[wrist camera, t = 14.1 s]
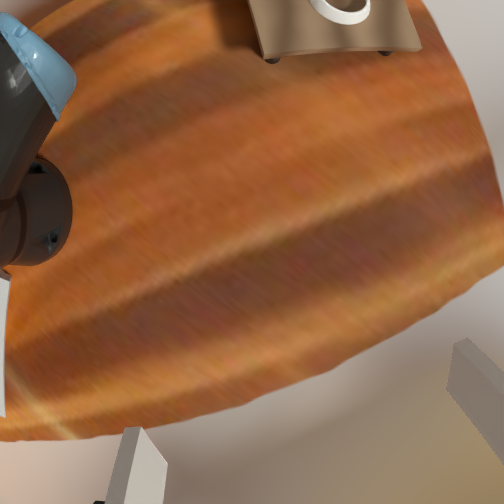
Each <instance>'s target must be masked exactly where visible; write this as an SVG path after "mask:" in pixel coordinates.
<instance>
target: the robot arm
mask: <svg viewBox="0 0 504 504" xmlns="http://www.w3.org/2000/svg"><path fill="white" fill-rule="evenodd" d="M76 83H77V79H76V74H75V72H74V70H73V68H72V67H71V66H70V65H69V64H68V63H67V62H66V61H65V60H64V59H63V58H62V57H61V56H60V55H59V54H58V53H57V52H56V51H55V50H54V49H53V48H52V47H50V46H49V45H48V44H47V43H46V42H45V41H43V40H42V39H41V38H40V37H39V36H37V35H36V34H35V33H34V32H32V31H31V30H28V29H27V27H26V26H24V25H23V24H21V23H20V22H19V21H18V20H17V19H16V18H14V17H13V16H11V15H10V14H8V13H5V12H1V13H0V268H2V267H4V266H6V265H21V266H34V265H38V264H41V263H43V262H45V261H47V260H49V259H50V258H52V257H53V256H55V255H56V254H57V253H58V252H59V251H60V250H61V248H62V247H63V245H64V244H65V242H66V240H67V238H68V235H69V232H70V228H71V223H72V200H71V195H70V191H69V188H68V185H67V183H66V181H65V179H64V177H63V175H62V174H61V173H60V171H59V170H58V169H57V168H56V167H55V166H54V165H53V164H52V163H50V162H48V161H47V160H44V159H41V158H35V157H36V155H37V153H38V151H39V149H40V148H41V146H42V144H43V142H44V140H45V139H46V137H47V135H48V133H49V132H50V130H51V128H52V126H53V125H54V123H55V121H56V122H58V121H59V119H60V113H61V112H62V110H63V108H64V107H65V105H66V103H67V102H68V100H69V98H70V97H71V95H72V93H73V92H74V90H75V87H76ZM446 390H447V391H448V392H449V393H450V395H451V396H452V397H453V398H454V400H455V401H456V402H457V404H459V406H460V407H461V408H462V410H463V411H464V412H465V414H466V415H467V416H468V418H469V419H470V420H471V422H472V423H473V424H474V425H475V427H476V428H477V429H478V430H479V432H480V433H481V435H482V436H483V437H484V438H485V440H486V441H487V443H488V444H489V445H490V447H491V448H492V450H493V451H494V452H495V453H496V455H497V456H498V458H499V459H500V461H501V462H502V463H503V465H504V372H503V371H502V370H501V369H500V368H499V367H498V366H497V365H496V364H495V363H494V362H493V361H492V360H491V359H490V358H489V357H488V356H486V354H484V353H483V352H482V351H481V350H480V349H479V348H478V347H477V346H476V345H475V344H474V343H472V341H470V340H469V339H468V338H465V339H463V340H461V341H459V342H457V343H455V344H454V347H453V353H452V360H451V366H450V372H449V377H448V383H447V388H446ZM167 465H168V463H167V462H166V461H165V460H164V458H163V457H162V455H161V454H160V453H159V451H158V450H157V449H156V447H155V446H154V444H153V443H152V442H151V440H150V439H149V437H148V436H147V435H146V433H145V432H144V430H143V429H142V427H128V428H125V430H124V433H123V436H122V440H121V444H120V447H119V451H118V454H117V458H116V461H115V465H114V469H113V473H112V476H111V481H110V484H109V488H108V492H107V496H106V500H105V501H95V502H94V503H93V504H163V497H164V488H165V481H166V472H167Z"/></svg>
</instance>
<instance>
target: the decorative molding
mask: <svg viewBox="0 0 504 504" xmlns="http://www.w3.org/2000/svg"><path fill="white" fill-rule="evenodd" d="M11 278H12V276H11V275H9V274H7V273H5V271H3V270H2V269H1V268H0V416H2V417H5V415H6V408H5V384H4V359H5V334H6V321H7V310H8V300H9V292H10V285H11Z"/></svg>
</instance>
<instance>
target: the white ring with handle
mask: <svg viewBox="0 0 504 504" xmlns="http://www.w3.org/2000/svg"><path fill="white" fill-rule="evenodd" d="M309 1H310V3H311V5H312V6H313V8H314V9H315V10H316V11H317V12H318V13H319V14H321V15H322V16H323V17H325V18H327V19H329V20H331V21H333V22H336V23H340V24H346V25H351V24H357V23H360V22H362V21H364V20H365V19H366V18H367V16H368V15H369V12H370V0H365V1H366V5H365V7H364V8H363V9H362V10H360V11H357V12H344V11H341V10H338V9H336V8H334V7H332V6H331V5H329V4H328V3H327V2H326V1H325V0H309Z"/></svg>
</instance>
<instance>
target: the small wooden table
mask: <svg viewBox="0 0 504 504" xmlns="http://www.w3.org/2000/svg"><path fill="white" fill-rule="evenodd" d="M325 1H326V2H327V3H328V4H329V5H331V6H332V7H334V8H336V9H338V10H341V11H344V12H357V11H360V10H362V9H363V8H364V7H365V5H366V1H365V0H325ZM247 2H248V6H249V9H250V13H251V16H252V20H253V23H254V27H255V31H256V34H257V38H258V42H259V45H260V49H261V53H262V57H263V59H265V61H266V62H268V63H270V64H275V63H277V62H278V61H279V60H280V57H285V56H293V55H303V54H313V53H326V52H344V51H379V53H380V54H381V55H383V56H388V55H389V54H391V53H392V52H394V51H409V52H417V51H419V50H421V49H422V46H421V43H420V40H419V37H418V34H417V32H416V29H415V26H414V24H413V21H412V18H411V16H410V13H409V11H408V8H407V6H406V4H405V1H404V0H370V12H369V15H368V16H367V18H366V19H365V20H364V21H362V22H360V23H357V24H351V25H346V24H340V23H336V22H333V21H331V20H329V19H327V18H325V17H323V16H322V15H321V14H319V13H318V12H317V11H316V10H315V9H314V8H313V6H312V5H311V3H310V1H309V0H247Z"/></svg>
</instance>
